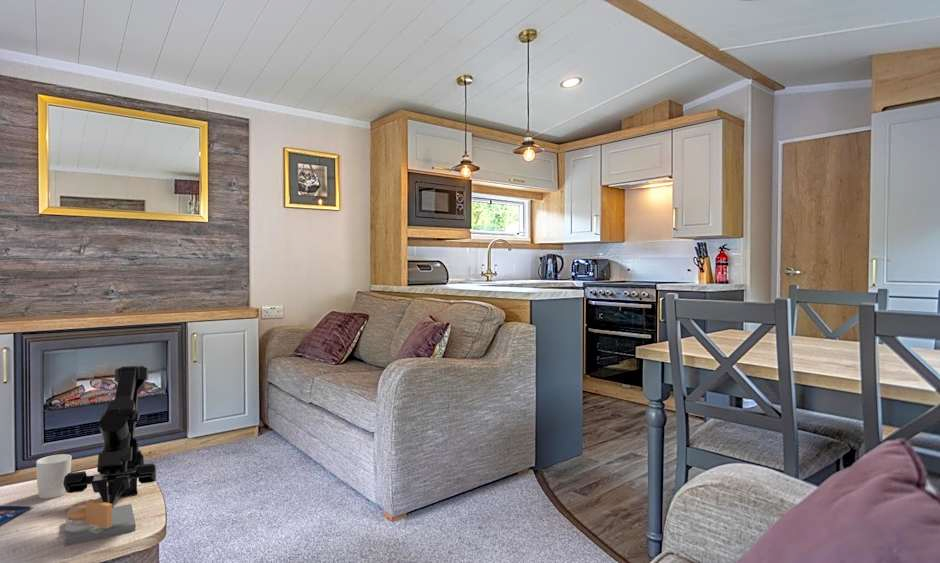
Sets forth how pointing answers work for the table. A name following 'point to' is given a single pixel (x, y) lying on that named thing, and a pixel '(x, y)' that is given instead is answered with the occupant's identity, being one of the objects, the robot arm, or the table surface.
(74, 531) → the base
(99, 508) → the lever cap
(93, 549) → the table surface
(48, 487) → the white cup
